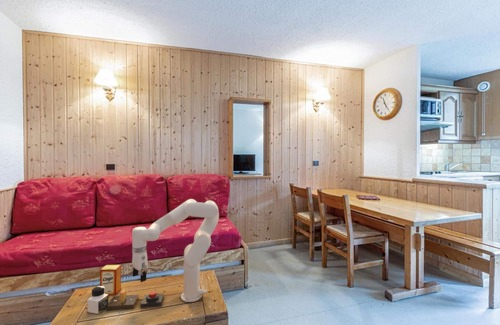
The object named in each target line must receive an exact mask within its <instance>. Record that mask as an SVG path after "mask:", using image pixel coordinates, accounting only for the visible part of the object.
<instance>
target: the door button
mask: <svg viewBox="0 0 500 325" xmlns="http://www.w3.org/2000/svg"><path fill="white" fill-rule="evenodd" d="M156 293H157V292H156V291H151V292H149V293H148V294H149V297H151V298H152V297H155V296H156Z"/></svg>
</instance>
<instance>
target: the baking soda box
mask: <svg viewBox="0 0 500 325" xmlns="http://www.w3.org/2000/svg"><path fill="white" fill-rule="evenodd" d="M99 286H103V287H105V294H108V296H117V295H118V293H120V291H122V264H106V265H104V266H102V267H101V268H100V269H99Z"/></svg>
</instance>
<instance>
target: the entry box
mask: <svg viewBox="0 0 500 325" xmlns="http://www.w3.org/2000/svg"><path fill="white" fill-rule="evenodd" d="M164 297H165V294H164V293H158V292H156V296H155V297H152V298H151V297H149V293H148V294H144V295H143V298H142V300H141V302H140V308H153V307H162V304H163V301H164Z"/></svg>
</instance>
